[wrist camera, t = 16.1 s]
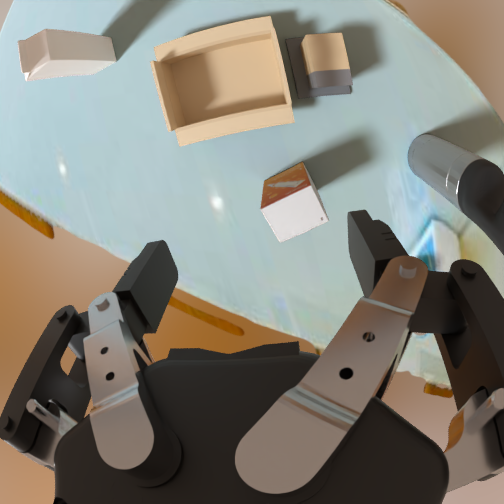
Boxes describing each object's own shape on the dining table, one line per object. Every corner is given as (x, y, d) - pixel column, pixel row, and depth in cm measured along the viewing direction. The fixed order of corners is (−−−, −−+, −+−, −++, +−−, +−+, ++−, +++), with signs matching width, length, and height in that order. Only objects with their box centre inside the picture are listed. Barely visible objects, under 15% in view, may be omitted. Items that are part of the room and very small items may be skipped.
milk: (111, 37, 34) (31, 26, 15) (117, 62, 37) (35, 60, 18) (87, 51, 35) (6, 52, 16) (92, 75, 38) (10, 84, 19)
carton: (270, 23, 33) (270, 10, 26) (292, 119, 42) (296, 124, 36) (164, 50, 36) (145, 45, 29) (188, 141, 46) (173, 150, 39)
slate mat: (337, 35, 33) (338, 35, 32) (349, 93, 39) (350, 93, 38) (285, 39, 35) (285, 39, 34) (298, 98, 40) (298, 98, 40)
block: (329, 43, 34) (341, 32, 26) (338, 86, 38) (352, 85, 30) (299, 45, 34) (305, 34, 27) (309, 88, 39) (317, 87, 31)
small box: (302, 160, 46) (312, 184, 35) (317, 190, 49) (330, 221, 38) (262, 180, 49) (259, 209, 38) (279, 208, 52) (280, 244, 41)
